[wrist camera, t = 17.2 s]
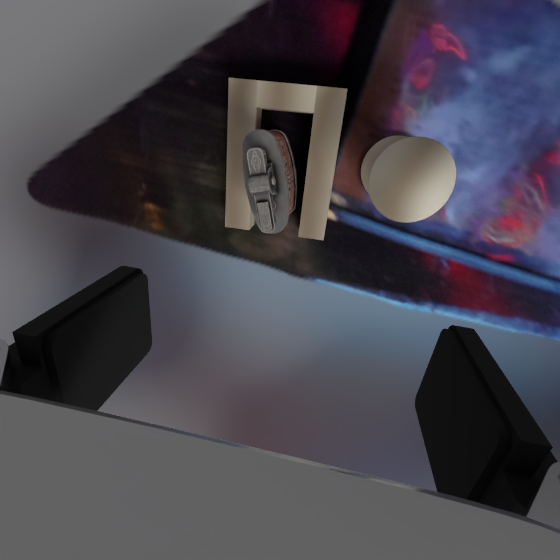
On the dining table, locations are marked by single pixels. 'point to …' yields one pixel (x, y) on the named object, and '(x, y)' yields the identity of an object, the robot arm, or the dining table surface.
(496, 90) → the dining table surface
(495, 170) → the dining table surface
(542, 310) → the dining table surface
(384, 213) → the bobbin
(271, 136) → the lighter
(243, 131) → the notched board
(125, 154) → the dining table surface
